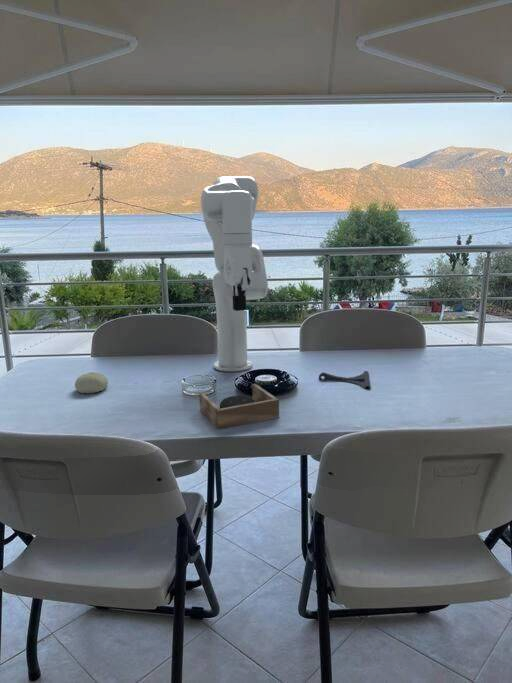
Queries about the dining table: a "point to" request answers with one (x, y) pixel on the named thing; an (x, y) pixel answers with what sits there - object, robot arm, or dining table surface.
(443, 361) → the dining table surface
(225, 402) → the smart speaker
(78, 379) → the sea urchin shell
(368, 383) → the bracket
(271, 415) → the box
